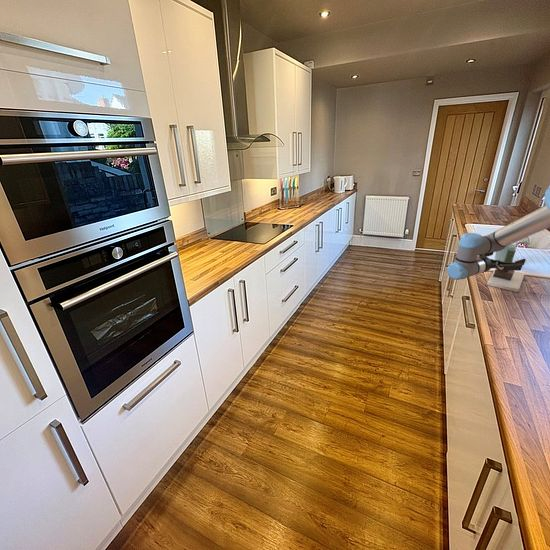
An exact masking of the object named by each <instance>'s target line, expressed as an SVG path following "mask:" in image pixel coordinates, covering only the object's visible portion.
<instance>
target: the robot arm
mask: <svg viewBox="0 0 550 550" xmlns="http://www.w3.org/2000/svg"><path fill="white" fill-rule="evenodd" d="M544 204H545V205H543V206H542V207H539V208H537V209H535V210H534V211H532V212H530V213H527V214H526V215H524V216H522V217H520V218H518V219H516V220H513V221H512V222H510V223H508V224H505V225H504V226H503V227H501V228H498V229H497V230H495V231H492V232H491V233H489V234H487V235H481V234H479V233H474V232H465V233H463V234H461V236H460V240H459V242H458V246H457V251H456V254H455V258H454V260H453V262H452V263H450V264H449V265H448V266H447V268H446V273H447V276H448V277H449V278H450V279H451V280H454V281H459V280H465V279H468V278H470V277H473V276H476V275H480V274H484V273H487V272H489V271H490V270H492V269H495V268H497V269H498V271H510V270H513V271H522V268H523V266H524V265H525V263H526V260H527V259H526V258H522V259H519V260H515V261H514V262H513V261H512V262H502V261H500V260H495V259H493V258H489V257H490V256H493V255H494V253H496V252H497V251H500V250H503V249H505V248H506V247H507V246H508V245H510V244H512V245H514V244H515V243H517V242H520V241H522V240H524V239H526V238H528V237H531V236H533V235H535V234H538V233H540V232H542V231H545V230H547V229H549V228H550V184H549V186H547V189H546V191H545V193H544Z"/></svg>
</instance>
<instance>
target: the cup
mask: <svg viewBox="0 0 550 550" xmlns="http://www.w3.org/2000/svg"><path fill="white" fill-rule="evenodd" d="M508 249H514V250H516V251H517V246H516V245H514V244H510V245H508V246H507V247H506V248H505V249H503V250H500V251H497V252H494V253H495V254H494V260H500V261H502V262H504V260H505V257H506V254H507V251H508Z"/></svg>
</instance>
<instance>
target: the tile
mask: <svg viewBox="0 0 550 550" xmlns="http://www.w3.org/2000/svg"><path fill="white" fill-rule="evenodd" d="M493 269H494V270H493V271H492V273H491V275H490V276H489V278H488V280H487V281H486V285H487V286H490V287H494V288H499V289H502V290H507V291H511V292H515V293H519V292H520V288H521V285H522V282H523V280H524V278H525V274H526V273H525V272H520V271H517V270H513V271H514V274H513V277H512V279H511V281H510V280H506V279H501V278H497V277H493V275H494V272H495V270H496V268H493Z"/></svg>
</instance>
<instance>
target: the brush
mask: <svg viewBox="0 0 550 550" xmlns="http://www.w3.org/2000/svg"><path fill="white" fill-rule="evenodd" d="M516 253H517V249H516V250H514V249H508V251H507V254H506V257H505V260H504V262H513V260H514V258H515V256H516V255H515V254H516ZM514 271H515V270H510V271H498V269H497V268H496V270H495V272H494V275H493V277H497V278H501V279H506V280H510V281H511V279H512V277H513V274H514Z"/></svg>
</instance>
